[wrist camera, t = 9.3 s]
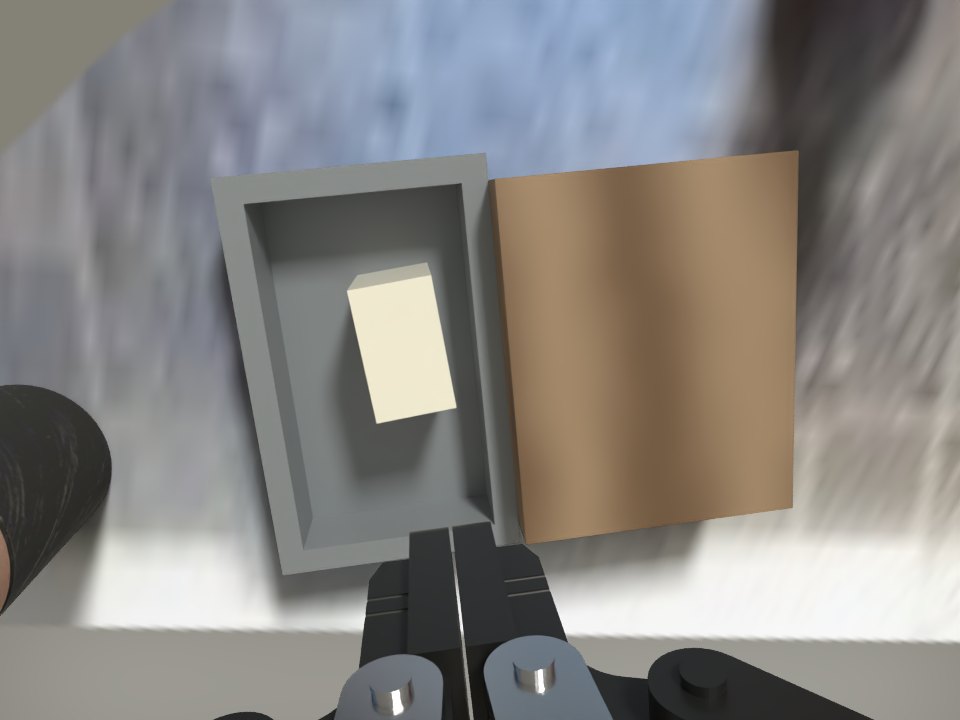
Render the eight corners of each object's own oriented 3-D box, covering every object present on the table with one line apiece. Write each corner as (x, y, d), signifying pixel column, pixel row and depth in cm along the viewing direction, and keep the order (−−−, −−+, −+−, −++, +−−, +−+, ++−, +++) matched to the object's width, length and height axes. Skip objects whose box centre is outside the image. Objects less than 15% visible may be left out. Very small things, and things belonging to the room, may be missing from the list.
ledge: (723, 159, 30) (798, 150, 24) (725, 454, 34) (792, 507, 28) (477, 182, 29) (495, 179, 24) (505, 483, 33) (526, 544, 27)
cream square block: (431, 275, 24) (347, 290, 24) (456, 407, 25) (376, 423, 25) (427, 262, 29) (357, 275, 29) (448, 374, 30) (381, 387, 30)
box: (475, 158, 29) (485, 152, 25) (507, 502, 33) (520, 542, 29) (237, 181, 28) (210, 178, 24) (297, 529, 32) (282, 575, 28)
